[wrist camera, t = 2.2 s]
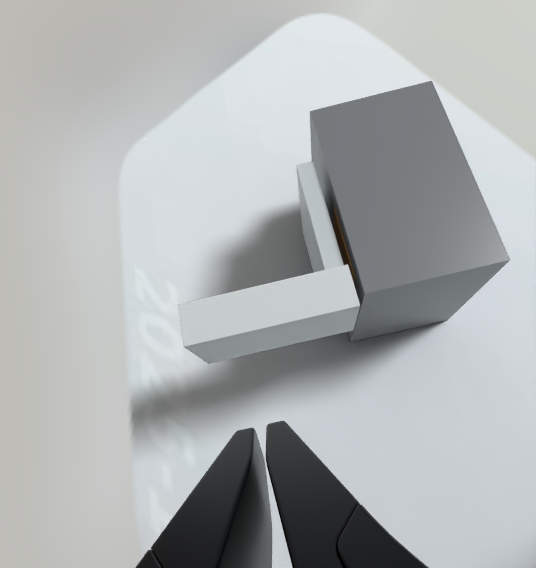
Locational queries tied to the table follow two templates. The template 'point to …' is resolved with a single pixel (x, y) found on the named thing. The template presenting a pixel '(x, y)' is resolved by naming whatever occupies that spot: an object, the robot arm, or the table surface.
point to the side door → (279, 296)
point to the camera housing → (403, 208)
